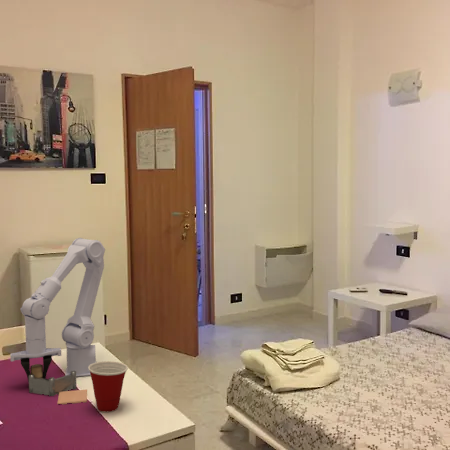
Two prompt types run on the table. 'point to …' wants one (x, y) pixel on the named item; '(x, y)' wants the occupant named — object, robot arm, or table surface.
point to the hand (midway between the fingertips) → (37, 380)
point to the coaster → (72, 396)
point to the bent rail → (52, 384)
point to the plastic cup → (107, 383)
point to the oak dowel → (37, 370)
